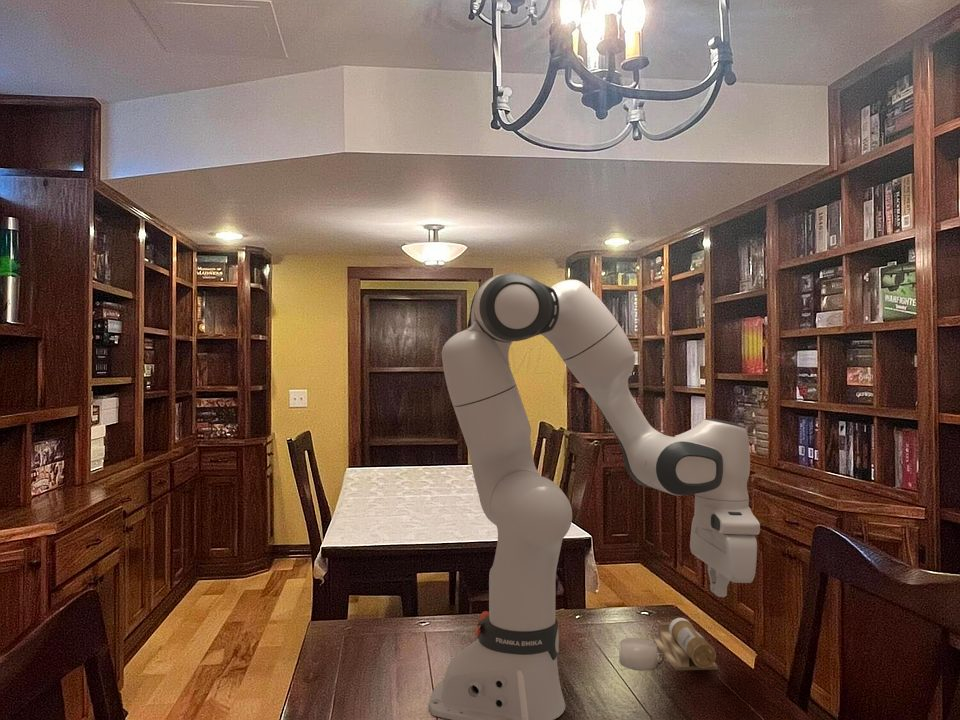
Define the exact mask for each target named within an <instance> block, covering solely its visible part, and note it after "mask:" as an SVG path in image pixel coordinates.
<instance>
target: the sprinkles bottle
mask: <svg viewBox="0 0 960 720" xmlns="http://www.w3.org/2000/svg"><path fill="white" fill-rule="evenodd" d="M670 622H671V624H670V626H669V632H670V635H671V636H672V638H673V639H674V640H675V641H677V642H678V644H679V645H680V646H681V648H682V649H683V650H684V651H685V652H686V654H687V655H688V656H689V657H690V658H691V659H692V660H693V662H694V664H695V665H697V666H698V667H701V668H706V667H709V666H710V665H712V664H713V662H715V661H716V657H717V653H716V650H715V648H714V646H712V645H711V644H710V643H708V641H707V640H706V639H705V638H704V636H702V634H701V633H699V632H698V631H697V630H696V628H694V626H693V624H692V623H691V622H690V621H689V620H688V619H686V618H684V617H677V618H675V619H673V620H672V621H670Z"/></svg>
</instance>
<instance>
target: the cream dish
mask: <svg viewBox="0 0 960 720" xmlns="http://www.w3.org/2000/svg"><path fill="white" fill-rule="evenodd" d="M618 659H619V661H618V662H619V664H620V665H621V666H622V667H624V668H627V669H629V670H634V671H650V670H653V669H656V667H657V666H658V647H657V645H656V644H655V643H654V641H652V640H649V639H646V638H641V637H627V638H624V639H622V640H620V641H619V658H618Z"/></svg>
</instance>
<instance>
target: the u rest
mask: <svg viewBox="0 0 960 720" xmlns="http://www.w3.org/2000/svg"><path fill="white" fill-rule="evenodd" d="M671 622H672V621H658V638H653V642H654V643H655V644H656V645H657V649H659V651H660V652H661V653H662V655H663V657H665V658H666V660H667V661H668V662H669V663H670V665H671V666H672V667H673V669H674V670H675V671H706V670H707V671H708V670H709V671H711V670H712V671H713V670H714V671H715V670H717V671H718V670H719V665H718V664H717V663H716V662H715V661H714V662H713V664H712V665H710V666H709V667H706V668H701V667H698V666H697V665H695V664H694V662H693V660H692V659H691V658H690V657H689V656H688V655H687V654H686V652H685V651H684V650H683V649H682V648H681V646H680V645H679V644H678V642H677V641H675V640H674V639H673V638H672V636H671V635H670V632H669V626H670V624H671Z"/></svg>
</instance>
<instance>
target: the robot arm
mask: <svg viewBox="0 0 960 720" xmlns="http://www.w3.org/2000/svg"><path fill="white" fill-rule="evenodd" d="M469 309H470V310H469V316H468V322H467V328H466V329H464V330H462V331H459V332H457V333H454V334H453V335H452V336H451V337H450V338H448V340H446V342H445V343H444V345H443V347H442V350H441V360H442V361H441V363H442V369H443V373H444V378H445V384H446V386H447V387H446V388H447V391H448V394H449V398H450V401H451V404H452V407H453V409H454V410H453V411H454V413H455V415H456V419H457V421H458V424H459V428H460V430H461V434H462V437H463V438H464V441H465V445H466V447H467V451H468V455H469V458H470V462H471V468H472V473H473V478H474V479H473V480H474V482H475V486H476V490H477V493H478V498H479V503H480V506H481V509H482V511H483V513H484V515H485V517H486V518H487V520H489V522H491V523H492V524H493V525H495V526H496V529H497V544H496V549H495V552H494V553H495V554H494V560H493V563H492V566H491V568H490V570H489V573H488V574H489V575H488V577H489V579H488V609H489V610H488V611H487V610H485V611H482V613H481V614H480V616H479V617H478V623H477V625H476V626H477V627H476V637H477V639H476V640H475V641H473V642H472V643H470V644H469V645H467V646H466V647H464V648H463V649H462V650H460V651H458V652H457V653H456V654H455V655H454V656H453V658H452V659H451V660H450V662H448V666H446V670H445V675H444V678H443V679H442V681H440V682H439V683H438V684H437V686H435V687H434V689H433V690H432V693H431V694H430V697H429V703H428V708H429V712H430V713H431V715H432V716H434V717H439V718H443V719H448V720H556V719H557V718H559V717H560V716H561V715H562V714H563V713H564V711H565V710H566V702H565V699H564V694H563V692H562V686H561V682H560V676H559V675H560V674H559V667H558V655H559V651H560V650H559V649H560V648H559V647H560V643H559V642H560V638H559V637H560V634H559V633H560V631H559V630H560V629H559V624H558V623H559V622H558V619H557V617H556V583H557V581H556V578H557V567H558V563H559V559H560V558H559V557H560V553H561V549H562V548H561V547H562V545H563V544H562V543H563V539H564V538H565V536H567V534H568V533H569V530H570V528H571V526H572V522H573V521H572V520H573V509H572V505H571V503H570V500H569V498H568V497H567V496H566V494H565V492H564V491H563V490H562V489H561V488H560V486H559V485H558V484H557V483H555V482H554V481H552V480H551V479H549V478H547V477H544V476H542V475H540V473H539V471H538V469H537V467H536V465H535V460H534V454H533V449H532V441H531V435H532V434H531V433H532V427H531V424H530V421H529V418H528V416H527V412H526V409H525V406H524V404H523V401H522V398H521V394H520V391H519V389H518V386H517V382H516V380H515V377H514V374H513V373H512V370H511V367H510V366H511V365H510V359H509V351H510V348H511V345H512V343H513V342H520V341H525V340H528V339H531V338H534V337H537V336H539V335H541V336H542V337H544V338H545V339H546V340H547V341H548V343H550V344H551V345H552V346H553V347H554V349H555V351H556V352H557V354H558V355H559V357H560V358H561V360H562V362H564V364H565V365H566V366H567V368H568V370H569V371H570V372H571V373H572V375H573V376H574V377H575V379H577V381H578V383H580V385H581V386H582V387H583V388H584V390H586V393H588V395H589V396H590V398H591V399H592V400H593V401H594V403H595V405H596V407H597V408H598V410H599V411H600V413H601V415H602V416H603V419H604V420H605V421H606V424H607V425H608V426H609V428H610V429H611V431H612V432H613V434H614V436H615V438H616V439H617V442H618V444H619V446H620V448H621V449H620V450H621V452H622V453H621V454H622V458H623V463H624V467H625V470H626V472H627V474H628V475H629V477H630V478H631V479H632V480H633V482H635V483H636V484H637V485H639V486H642V487H646V488H650V489H655V490H658V491H661V492H662V493H667V494H670V495H672V496H689V495H694V511H693V512H694V514H693V515H694V516H693V518H692V520H691V521H692V522H691V528H690V538H689V548H690V553H691V554H692V555H693V556H695V557H696V558H697V559H699V560H700V561H701V562H703V563H705V564H706V565H707V573H708V574H707V575H708V578H709V583H710V587H709V588H710V589H709V590H710V591H711V593H712V594H714V595H715V596H716V597H718V598H725V597H727V596H728V586H729V583H730V582H731V583H734V584H735V583H737V584H738V583H739V584H751V583H753V581H754V578H755V576H756V569H757V560H758V558H757V557H758V541H757V538H756V536H758V535H759V534H760V532H761V523H760V522H759V520H758V519H757V517H756V516H755V515H754V514H753V511H752V510H751V509H752V508H751V507H750V506H749V504H750V502H749V501H750V494H749V492H748V491H749V490H748V482H749V481H748V479H749V477H750V473H751V472H750V471H751V451H750V440H749V434H748V432H747V430H746V428H745V427H743V426H742V425H740V424H738V423H735V422H732V421H727V420H720V419H717V418H704V419H702V420H701V422H700V423H699V424H697V425H695V426H694V427H693V428H690V429H689V430H687V431H684V432H681V433H680V434H676V435H674V436H670V435H666V434H664V433H662V432H660V431H658V430H657V429H655V428H654V427H653V426H652V425H651V424H650V423H649V421H648V420H647V418H646V417H645V415H644V413H643V412H642V410H641V409H640V406H639V405H638V404H637V402H636V400H635V398H634V397H633V395H632V393H631V391H630V388H629V378H630V377H631V375H632V373H633V371H634V368H635V365H636V364H635V363H636V353H635V351H634V349H633V347H632V344H631V342H630V340H629V338H628V336H627V334H626V333H625V331H624V329H623V328H622V326H621V325H620V324H619V322H618V321H617V319H616V318H615V316H614V315H613V313H612V312H611V311H610V310H609V309H608V307H607V306H606V304H604V303H603V301H602V300H601V299H600V298H599V297H598V296H597V295H596V293H594V291H592V289H591V288H589V287H588V286H587V285H586V284H585V283H584V282H583V281H581V280H578V279H565V280H561V281H559V282H557V283H555V284H553V285H551V286H549V285H546V284H545V283H542V282H541V281H538V280H536V279H534V278H532V277H531V276H529V275H526V274H522V273H516V272H510V273H502V274H501V273H500V274H498V275H493V276H491V277H490V278H489V279H487V280H486V281H485V282H484V283H482V284H481V286H480V287H479V288H478V289H477V290H476V291H475V293H474V295H473V298H472V301H471V304H470V308H469Z"/></svg>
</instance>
